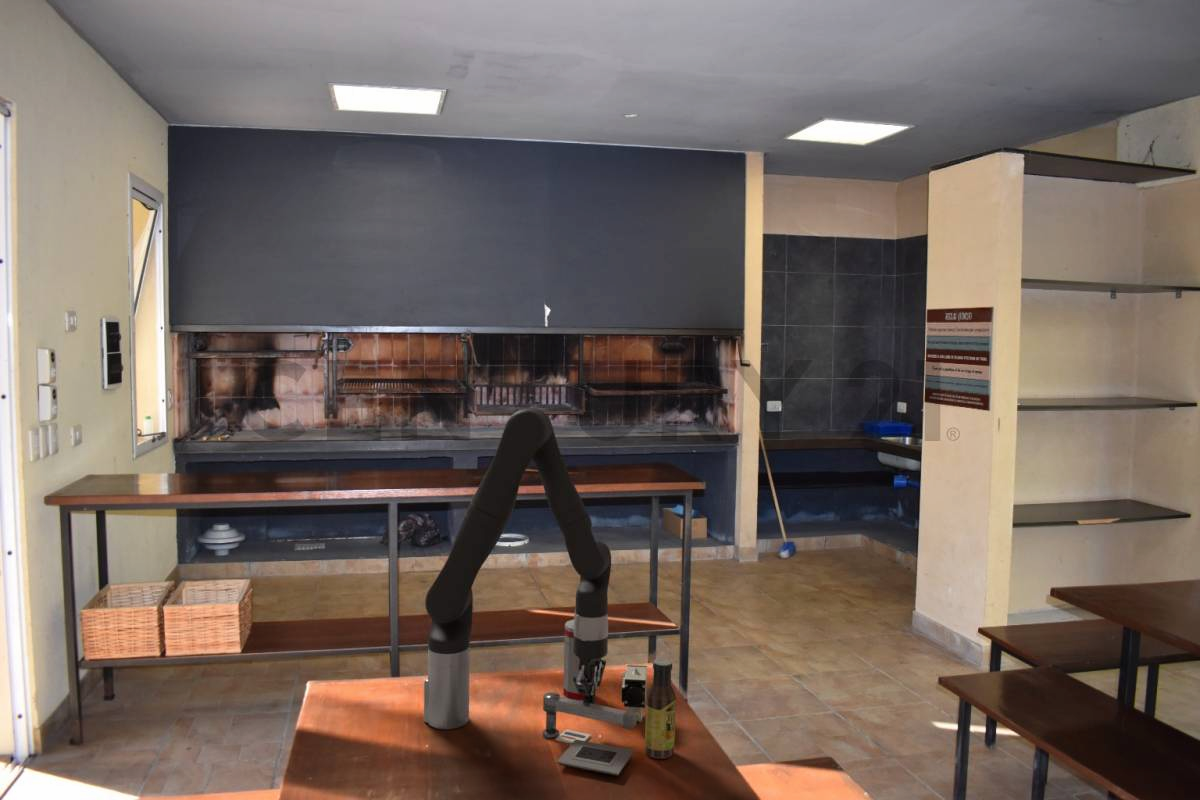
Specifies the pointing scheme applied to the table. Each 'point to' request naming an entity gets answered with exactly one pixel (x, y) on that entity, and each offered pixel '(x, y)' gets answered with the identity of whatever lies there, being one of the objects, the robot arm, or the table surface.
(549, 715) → the arm post
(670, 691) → the sauce bottle
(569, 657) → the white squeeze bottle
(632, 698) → the pneumatic valve
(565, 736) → the label plate
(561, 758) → the electrical outlet
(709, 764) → the table surface
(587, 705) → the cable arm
